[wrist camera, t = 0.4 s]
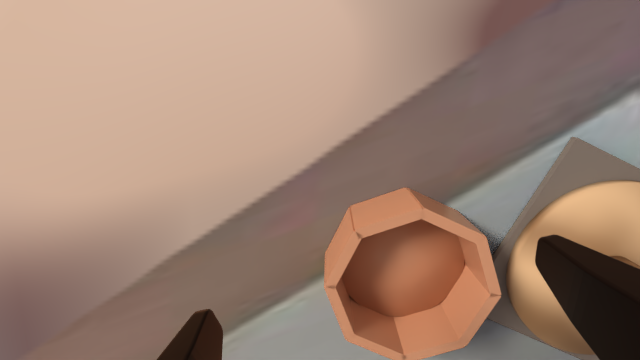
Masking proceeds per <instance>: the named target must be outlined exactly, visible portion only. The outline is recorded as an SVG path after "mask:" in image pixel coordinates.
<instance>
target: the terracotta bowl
mask: <svg viewBox="0 0 640 360" xmlns="http://www.w3.org/2000/svg"><path fill="white" fill-rule="evenodd" d="M324 288H325V291H326V293H327V296H328V298H329V300H330V303H331V305H332V308H333V310H334V313H335V315H336V317H337V320H338V322H339V325H340V327H341V330H342V332H343V334H344V337H345V339H347V341H348V342H351V343H353V344H356V345H358V346H361V347H363V348H366V349H368V350H370V351H373V352H375V353H378V354H380V355H383V356H385V357H387V358H390V359H392V360H420V359H423V358H427V357H431V356H434V355H438V354H442V353H445V352H449V351H453V350H456V349H460V348H464V347H465V346H467V345H468V343H469V342H470V340H471V339H472V337H473V336H474V335H475V333H476V332H477V330H478V329H479V327H480V326H481V325H482V323H483V322H484V320H485V319H486V318H487V316H488V315H489V313H490V312H491V310H492V309H493V308H494V306H495V305H496V303H497V302H498V300H499V299H500V298H501V296H500V295H502V294H501V291H500V287H499V283H498V279H497V275H496V272H495V268H494V264H493V260H492V256H491V253H490V249H489V245H488V241H487V237H486V236H485V235H484V234H483V233H482V232H480V231H479V230H478V229H477V228H476V227H475V226H474V225H473V224H472V223H470V222H469V221H468V220H467V219H466V218H465V217H464V216H463V215H462V214H461V213H459V212H458V211H457V210H455V209H453V208H450V207H448V206H446V205H444V204H442V203H440V202H437V201H435V200H433V199H431V198H429V197H427V196H424V195H422V194H420V193H418V192H416V191H414V190H411V189H409V188H402V189H399V190H396V191H393V192H390V193H387V194H384V195H381V196H378V197H375V198H372V199H369V200H366V201H363V202H360V203H357V204H354V205H351V206H350V207H349V208H348V210H347V212H346V214H345V216H344V218H343V220H342V222H341V224H340V226H339V227H338V229H337V231H336V233H335V235H334V237H333V239H332V241H331V243H330V245H329V247H328V249H327V251H326V253H325V276H324ZM464 345H465V346H464Z"/></svg>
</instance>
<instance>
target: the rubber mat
mask: <svg viewBox="0 0 640 360" xmlns="http://www.w3.org/2000/svg"><path fill="white" fill-rule="evenodd" d="M609 180H633V181H640V169H639V168H637V167H635V166H633V165H631V164H629V163H627V162H625V161H623V160H621V159H619V158H617V157H615V156H613V155H611V154H609V153H607V152H605V151H603V150H601V149H599V148H597V147H595V146H593V145H591V144H589V143H587V142H585V141H583V140H581V139H579V138H576V137H572V138H571V139H570V141H569V142H568V144H567V145H566V147H565V148H564V150H563V151H562V153H561V154H560V156H559V157H558V159H557V160H556V162H555V163H554V165H553V166H552V168H551V169H550V171H549V172H548V174H547V175H546V177H545V178H544V180H543V181H542V183H541V184H540V186H539V187H538V189H537V190H536V192H535V193H534V194H533V196H532V197H531V199H530V200H529V202H528V203H527V205H526V206H525V208H524V209H523V211H522V212H521V214H520V215H519V217H518V218H517V220H516V221H515V223H514V224H513V226H512V227H511V229H510V230H509V232H508V233H507V235H506V236H505V238H504V239H503V241H502V242H501V244H500V245H499V247H498V248H497V250H496V251H495V253H494V254H493V256H492V260H493V264H494V268H495V272H496V275H497V279H498V283H499V287H500V291H501V294H502V295H500V296H501V298H500V299H499V300H498V302H497V303H496V305H495V306H494V308H493V309H492V310H491V312H490V313H489V315H488V316H487V319H489V320H492V321H494V322H496V323H499V324H501V325H503V326H506V327H508V328H510V329H512V330H515V331H517V332H519V333H522V334H524V335H526V336H529V337H531V338H533V339H535V340H538V341H540V342H542V343H545V342H544V341H543V340H541V339H540V338H538V337H537V336H536V335H535V334H534V333H533V332H532V331H531V330H529V328H528V327H527V326H526V325H525V324H524V323H523V321H522V320H521V319H520V318H519V316H518V315H517V314H516V312H515V310H514V308H513V306H512V305H511V302H510V299H509V296H508V292H507V286H506V272H507V265H508V261H509V257H510V254H511V251H512V249H513V246H514V244H515V242H516V240H517V239H518V237H519V235H520V234H521V232H522V231H523V229H524V228H525V227H526V225H527V224H528V223H529V222H530V221H531V220H532V219H533V217H534V216H535V215H536V214H537V213H538V212H540V211H541V210H542V209H543V208H544V207H546V206H547V205H548V204H549V203H551V202H553V201H554V200H556V199H557V198H559V197H560V196H562V195H564V194H566V193H568V192H570V191H572V190H574V189H577V188H580V187H582V186H585V185H589V184H593V183H596V182H602V181H609ZM545 344H547V343H545ZM547 345H549V344H547ZM549 346H551V345H549ZM552 347H553V346H552ZM554 348H555V347H554ZM556 349H558V348H556ZM559 350H561V349H559ZM561 351H563V352H565V353H568V354H570V355H572V356H575V357H577V358H579V359H582V360H599V358H598V357H597V356H596V355H587V354H577V353H572V352H568V351H564V350H561Z"/></svg>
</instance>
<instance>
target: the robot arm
mask: <svg viewBox="0 0 640 360" xmlns="http://www.w3.org/2000/svg"><path fill="white" fill-rule="evenodd" d="M535 263H536V266H537V269H538V270H539V272H540V274H541V275H542V277H543V278H544V280H545V282H546V283H547V285H548V286H549V288H550V290H551V291H552V293H553V295H554V296H555V298H556V299H557V301H558V303H559V304H560V306H561V307H562V309H563V311H564V312H565V314H566V315H567V317H568V318H569V320H570V321H571V323H572V324H573V325H574V327H575V328H576V330H577V331H578V332H579V334H580V335H581V336H582V337H583V339H584V340H585V341H586V343H587V344H588V345H589V347H590V348H591V349H592V351H593V352H594V353H595V354H596V356H597V357H598V358H599V360H640V269H638V268H636V267H634V266H631V265H629V264H627V263H624V262H622V261H619V260H617V259H615V258H612V257H610V256H607V255H605V254H603V253H600V252H598V251H595V250H593V249H591V248H588V247H586V246H583V245H581V244H579V243H576V242H574V241H571V240H569V239H567V238H564V237H562V236H559V235H549V236H544V237H541V238H539V240H538V242H537V249H536V256H535ZM222 344H223V330H222V327H221V325H220V323H219V322H218V320H217V318H216V316H215V315H214V313H213V312H212V310H210V309H205V310H200V311H197V312H195V313H194V314H193V315H192V316H191V317H190V319H189V320H188V321H187V322H186V324H185V325H184V326H183V327H182V329H181V330H180V331H179V332H178V334H177V335H176V336H175V337H174V339H173V340H172V341H171V342H170V344H169V345H168V346H167V347H166V349H165V350H164V351H163V352H162V354H161V355H160V356H159V357H158V359H157V360H222Z"/></svg>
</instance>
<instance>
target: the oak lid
mask: <svg viewBox="0 0 640 360" xmlns="http://www.w3.org/2000/svg"><path fill="white" fill-rule="evenodd" d="M549 235H559V236H562V237H564V238H567V239H569V240H571V241H574V242H576V243H579V244H581V245H583V246H586V247H588V248H591V249H593V250H595V251H598V252H600V253H603V254H605V255H607V256H610V257H612V258H615V259H617V260H619V261H622V262H624V263H627V264H629V265H631V266H634V267H636V268H638V269H640V181H633V180H609V181H602V182H596V183H593V184H589V185H585V186H582V187H580V188H577V189H574V190H572V191H570V192H568V193H566V194H564V195H562V196H560V197H559V198H557V199H556V200H554V201H553V202H551V203H549V204H548V205H547V206H546V207H544V208H543V209H542V210H541V211H540V212H538V213H537V214H536V215H535V216H534V217H533V219H532V220H531V221H530V222H529V223H528V224H527V225H526V227H525V228H524V229H523V231H522V232H521V234H520V235H519V237H518V239H517V240H516V242H515V244H514V246H513V249H512V251H511V254H510V257H509V261H508V265H507V272H506V286H507V292H508V296H509V299H510V302H511V305H512V306H513V308H514V310H515V312H516V314H517V315H518V316H519V318H520V319H521V320H522V321H523V323H524V324H525V325H526V326H527V327H528V328H529V330H531V331H532V332H533V333H534V334H535V335H536V336H537V337H538V338H540V339H541V340H543V341H544V342H545V343H547V344H549V345H551V346H553V347H555V348H558V349H561V350H564V351H568V352H572V353H577V354H587V355H596V354H595V353H594V352H593V351H592V349H591V348H590V347H589V345H588V344H587V343H586V341H585V340H584V339H583V337H582V336H581V335H580V334H579V332H578V331H577V330H576V328H575V327H574V325H573V324H572V323H571V321H570V320H569V318H568V317H567V315H566V314H565V312H564V311H563V309H562V307H561V306H560V304H559V303H558V301H557V299H556V298H555V296H554V295H553V293H552V291H551V290H550V288H549V286H548V285H547V283H546V282H545V280H544V278H543V277H542V275H541V274H540V272H539V270H538V269H537V266H536V263H535V256H536V249H537V242H538V240H539V238H541V237H544V236H549Z"/></svg>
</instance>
